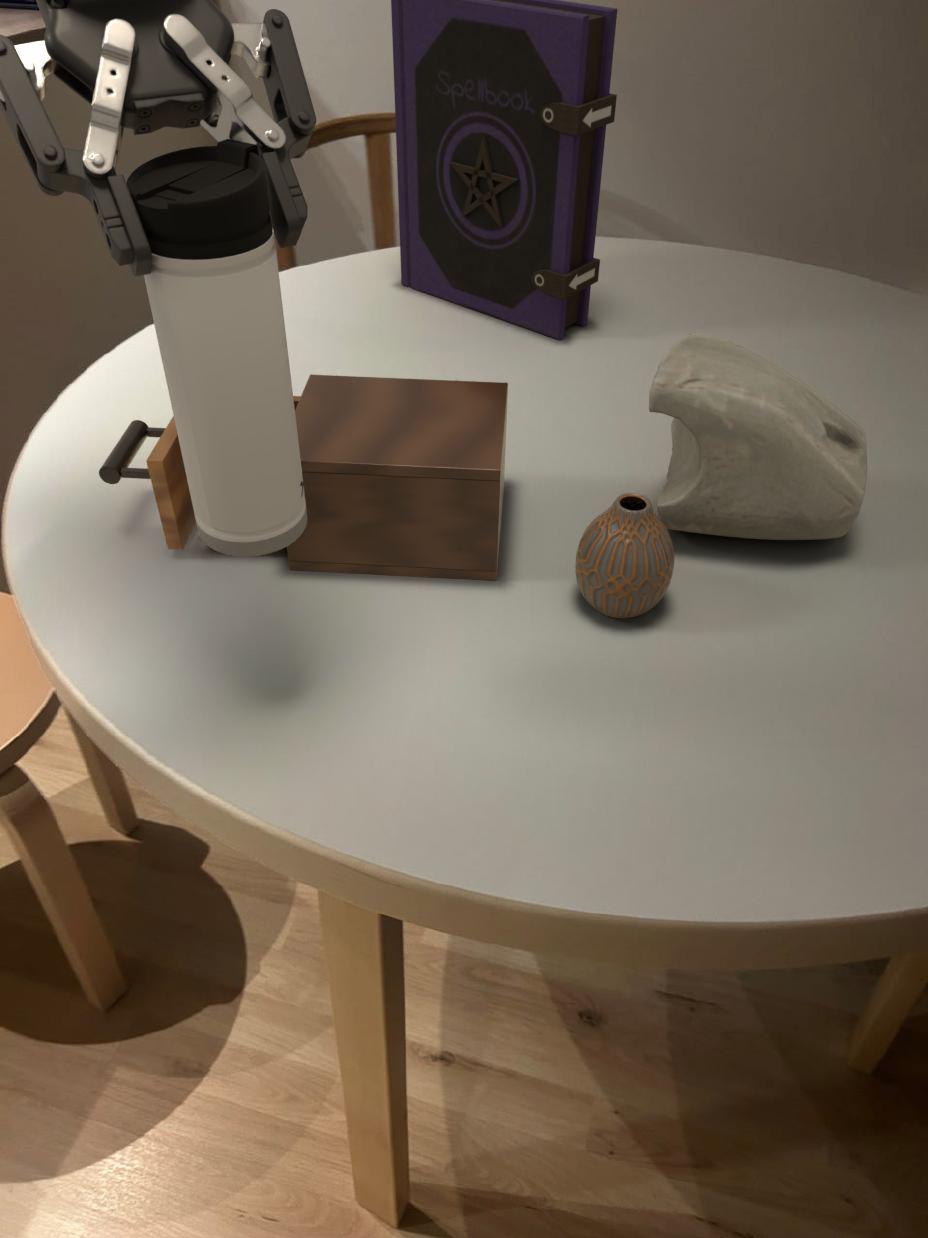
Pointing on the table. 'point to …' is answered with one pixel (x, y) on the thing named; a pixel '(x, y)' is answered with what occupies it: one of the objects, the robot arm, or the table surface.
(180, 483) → the drawer
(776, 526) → the decorative stone
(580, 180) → the book
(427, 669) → the table surface
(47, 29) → the robot arm
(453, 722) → the table surface
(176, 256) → the travel mug
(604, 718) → the table surface
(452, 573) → the cabinet
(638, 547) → the vase
